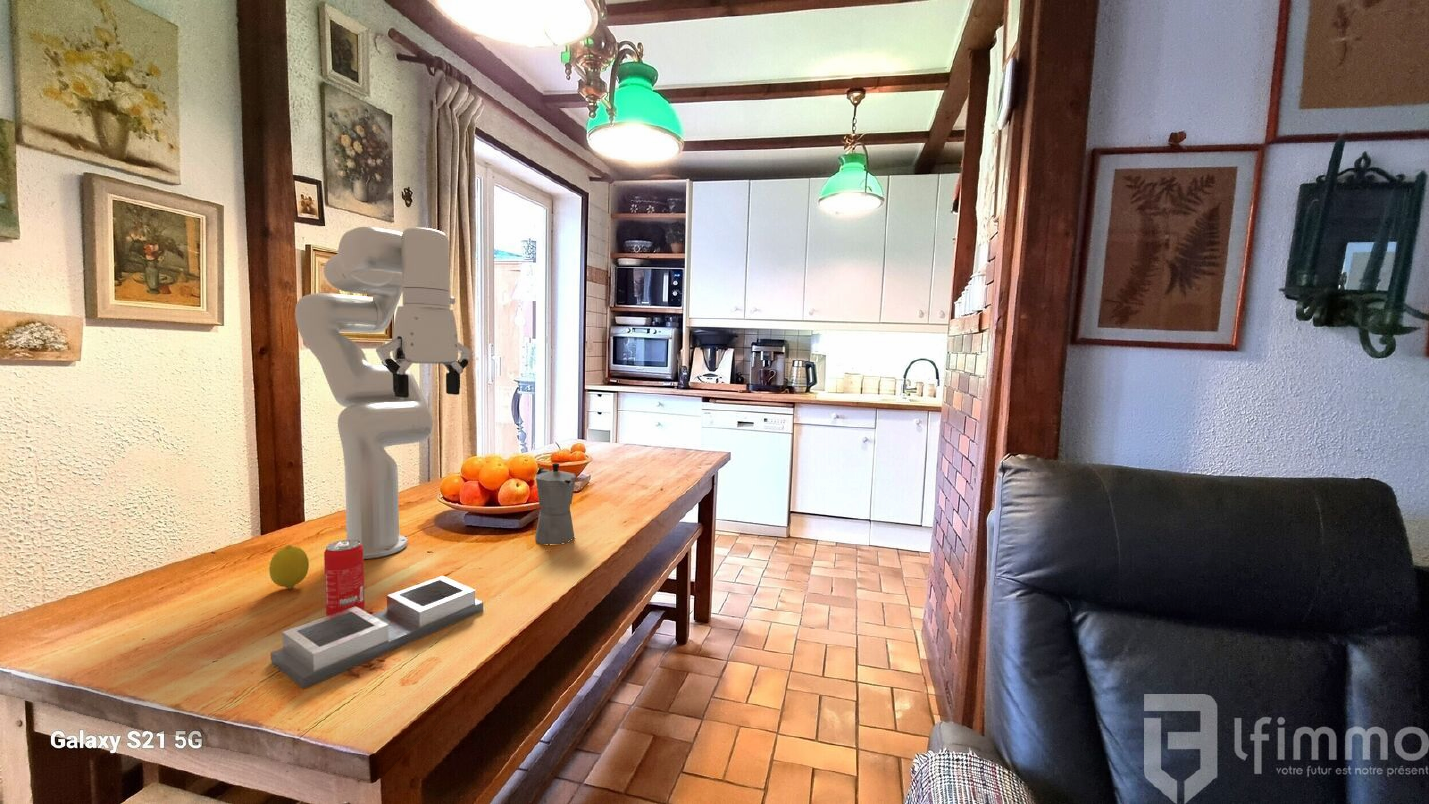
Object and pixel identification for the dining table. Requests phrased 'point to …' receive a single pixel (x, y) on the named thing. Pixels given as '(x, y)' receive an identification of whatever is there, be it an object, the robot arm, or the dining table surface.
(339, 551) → the beverage can
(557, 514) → the coffeepot
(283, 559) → the lemon
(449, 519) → the dining table surface
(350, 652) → the socket rail
